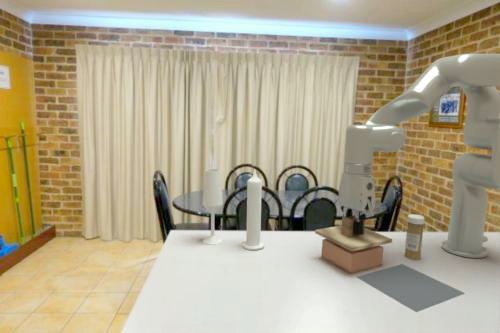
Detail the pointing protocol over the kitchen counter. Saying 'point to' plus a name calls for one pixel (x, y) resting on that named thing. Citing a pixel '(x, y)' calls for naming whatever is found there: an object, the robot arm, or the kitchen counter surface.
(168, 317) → the kitchen counter surface
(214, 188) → the champagne flute
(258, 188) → the candle
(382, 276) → the mat
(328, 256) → the open wooden tray
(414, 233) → the sprinkles bottle
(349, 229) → the lid
